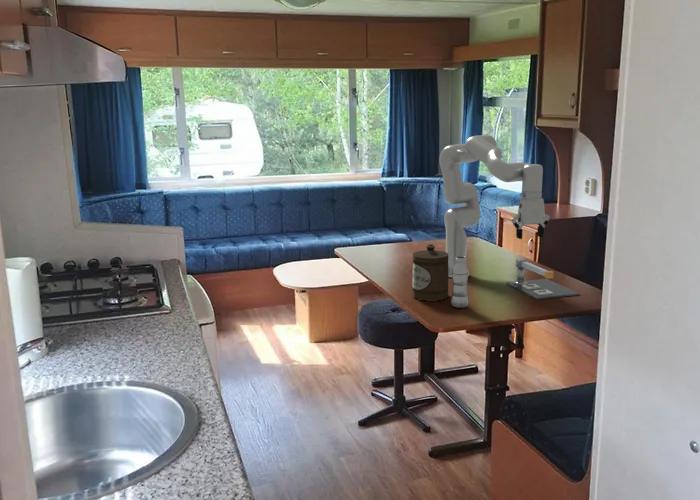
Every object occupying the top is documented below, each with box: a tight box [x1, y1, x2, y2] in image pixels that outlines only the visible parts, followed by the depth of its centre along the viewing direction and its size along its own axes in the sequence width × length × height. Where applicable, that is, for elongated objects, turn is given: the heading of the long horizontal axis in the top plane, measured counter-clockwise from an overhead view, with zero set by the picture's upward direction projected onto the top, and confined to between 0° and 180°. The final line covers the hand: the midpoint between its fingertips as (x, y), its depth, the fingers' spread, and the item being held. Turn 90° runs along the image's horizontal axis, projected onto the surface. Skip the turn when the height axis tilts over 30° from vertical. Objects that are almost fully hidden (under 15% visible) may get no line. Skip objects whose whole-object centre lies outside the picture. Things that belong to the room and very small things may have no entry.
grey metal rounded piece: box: [512, 267, 528, 285], centre depth 279 cm, size 6×6×7 cm
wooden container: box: [411, 243, 449, 302], centre depth 263 cm, size 15×15×22 cm
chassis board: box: [506, 278, 581, 300], centre depth 273 cm, size 20×24×1 cm
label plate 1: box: [522, 284, 541, 289], centre depth 273 cm, size 6×5×1 cm
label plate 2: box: [533, 289, 553, 295], centre depth 265 cm, size 6×5×1 cm
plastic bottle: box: [450, 256, 470, 309], centre depth 248 cm, size 6×7×20 cm
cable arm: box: [515, 258, 555, 280], centre depth 269 cm, size 24×4×3 cm, turn 17°
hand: (529, 237), depth 259 cm, fingers open, 9 cm apart
